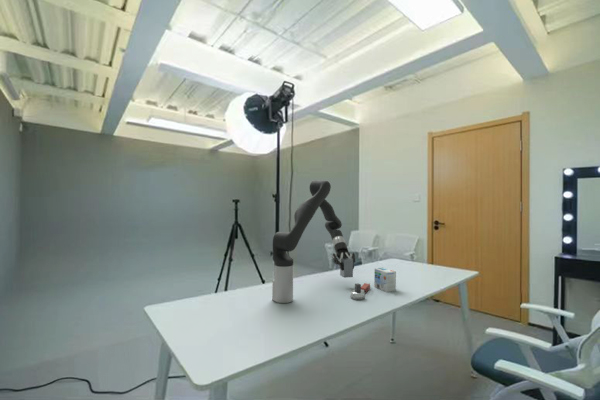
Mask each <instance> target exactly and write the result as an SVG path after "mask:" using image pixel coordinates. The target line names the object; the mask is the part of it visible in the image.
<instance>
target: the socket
mask: <svg viewBox="0 0 600 400" xmlns="http://www.w3.org/2000/svg"><path fill="white" fill-rule="evenodd" d="M341 260H342V264H343V267H344V270H341V269H340V268H339V275H340V276H341V277H342V278H354V277H353V276H354V269H353V265H354V264H353V259H352V258H351V257H350V258H341Z"/></svg>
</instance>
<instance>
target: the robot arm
mask: <svg viewBox="0 0 600 400" xmlns="http://www.w3.org/2000/svg"><path fill="white" fill-rule="evenodd" d="M331 188H332V186H331V183H330V181H328V180H321V179H318V180H316V179H315V180H314V179H313V180H311V182H310V183H309V192H310V194H311V196H310V197H309V198H307V199H306V200H304V201H302V202H301V203H300V204H299V205H298V206H297V209H296V210H295V212H294V216H293V217H294V225H293V228H292V229H291V230H289V232H288V231H277V232H276V233H274V235H273V237H272V259H273V262H274V268H273V270H274V274H273V276H274V278H273V280H272V293H271V295H272V301H274V302H275V303H278V304H288V303H291V302H293V301H294V258H292V257H291V256H290V255H288V253H289V252H293V251H294V250H295V249H296V248H297V246H298V245H299V242H300V240H301V238H302V236H303V234H304V232H305V230H306V228H307V227H308V225H309V223H310V222H311V220H312V219H313V217H314V215H315V214H316V212H317V210H318V209H319V208H320V210H321V212H322V215H323V218H324V219H325V223H324V227H325V229H326V231H327V232H328V233H329V234H330V237H331V240H332V245H333V249H334V252H335V253H332V255H331V258H332V260H333V262H334V263H335V265H339V270H340V269H341V270H344V267H343V264H342V260H341V258H351V259H353V270H354V268H355V265H354V264H355V263H356V255H355V253H354V252H353V253H350V252H349V248H348V246H347V243H346V240H345V238H344V236H343V235H344V234H343V233H342V231H341V228H342V225H343V224H342V221H341V219H340V218H339V217H338V216H337V215H336V213H335V210H334V208H333V206H332V205H331V203H330V202H328V201H327V200H326V198H327V197H328V196H329V194H330V192H331ZM287 252H288V253H287Z"/></svg>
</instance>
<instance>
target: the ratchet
mask: <svg viewBox="0 0 600 400" xmlns="http://www.w3.org/2000/svg"><path fill="white" fill-rule="evenodd" d="M370 289H371V283H366V282H365V283H364V284H361V283H354V289H352V290H351V291H350V299H351V300H354V301H364V300H366V293H367V292H368V291H369V290H370Z"/></svg>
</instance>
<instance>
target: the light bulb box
mask: <svg viewBox="0 0 600 400" xmlns="http://www.w3.org/2000/svg"><path fill="white" fill-rule="evenodd" d="M373 286H374V288H376V289H377V290H378V289H379V290H381V291H383V292H386V293H388V292H389V293H390V292H396V291H397V270H393V269H390V268H386V267H377V268H374V283H373Z"/></svg>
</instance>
